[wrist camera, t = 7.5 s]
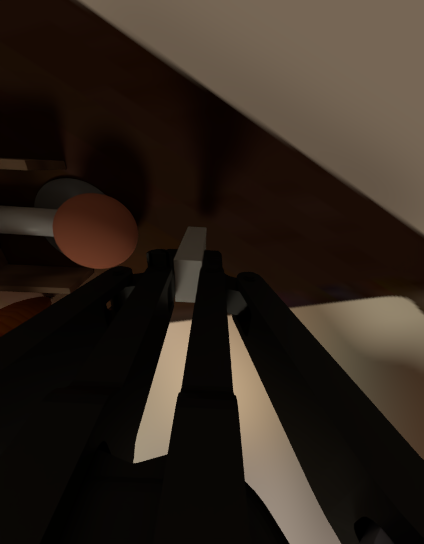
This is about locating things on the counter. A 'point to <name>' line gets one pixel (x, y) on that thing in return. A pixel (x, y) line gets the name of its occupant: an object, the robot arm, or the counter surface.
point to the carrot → (21, 312)
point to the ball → (95, 230)
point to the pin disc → (61, 196)
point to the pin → (26, 220)
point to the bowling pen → (36, 276)
